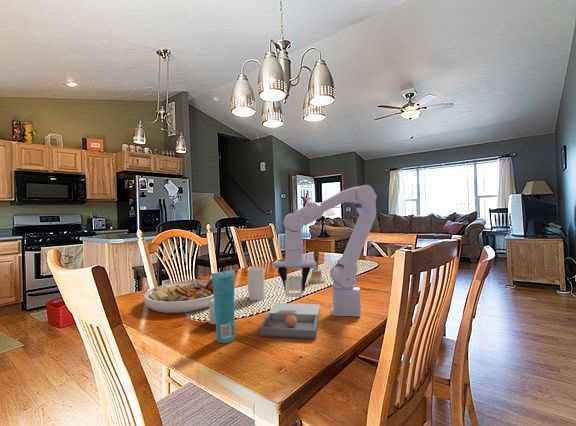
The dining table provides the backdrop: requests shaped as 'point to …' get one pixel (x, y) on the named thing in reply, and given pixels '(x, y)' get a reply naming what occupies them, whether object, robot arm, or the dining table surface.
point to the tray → (288, 328)
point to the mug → (256, 283)
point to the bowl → (180, 296)
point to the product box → (212, 312)
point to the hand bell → (316, 270)
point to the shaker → (293, 286)
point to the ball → (291, 320)
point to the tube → (224, 305)
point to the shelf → (295, 311)
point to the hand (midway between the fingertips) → (294, 289)
